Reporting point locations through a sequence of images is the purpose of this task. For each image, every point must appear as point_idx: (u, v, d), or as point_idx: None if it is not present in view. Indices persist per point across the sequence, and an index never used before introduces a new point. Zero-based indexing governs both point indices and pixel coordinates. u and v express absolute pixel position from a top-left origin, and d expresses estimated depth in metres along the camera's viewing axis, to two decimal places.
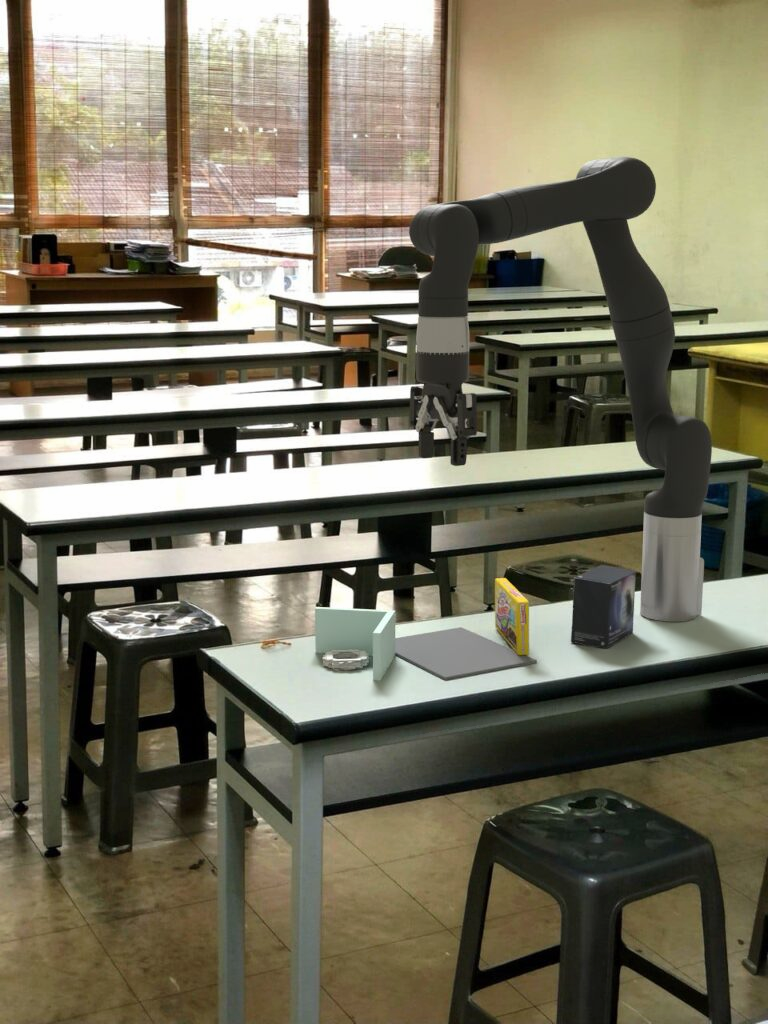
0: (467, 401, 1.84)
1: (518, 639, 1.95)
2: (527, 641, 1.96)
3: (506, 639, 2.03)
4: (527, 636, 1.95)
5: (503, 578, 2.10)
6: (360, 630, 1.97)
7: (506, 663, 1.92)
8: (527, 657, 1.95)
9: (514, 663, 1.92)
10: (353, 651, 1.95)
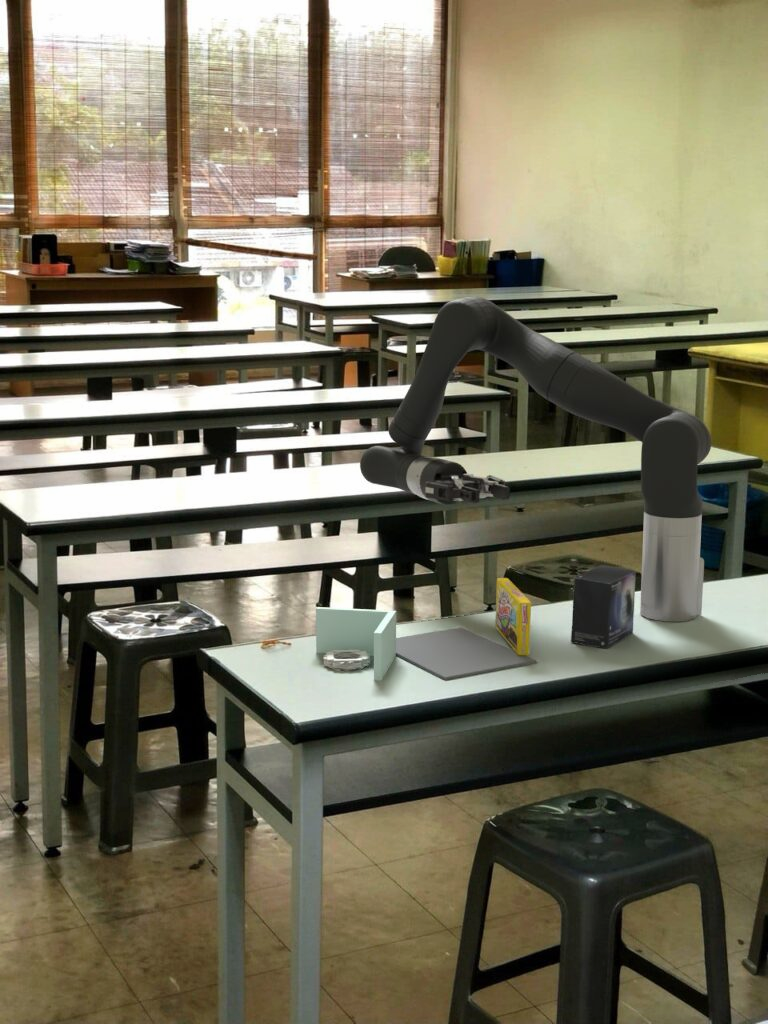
0: (428, 491, 2.21)
1: (519, 639, 1.95)
2: (528, 642, 1.96)
3: (506, 639, 2.03)
4: (528, 637, 1.95)
5: (505, 578, 2.10)
6: (361, 630, 1.97)
7: (506, 663, 1.92)
8: (527, 657, 1.95)
9: (514, 663, 1.92)
10: (354, 651, 1.95)
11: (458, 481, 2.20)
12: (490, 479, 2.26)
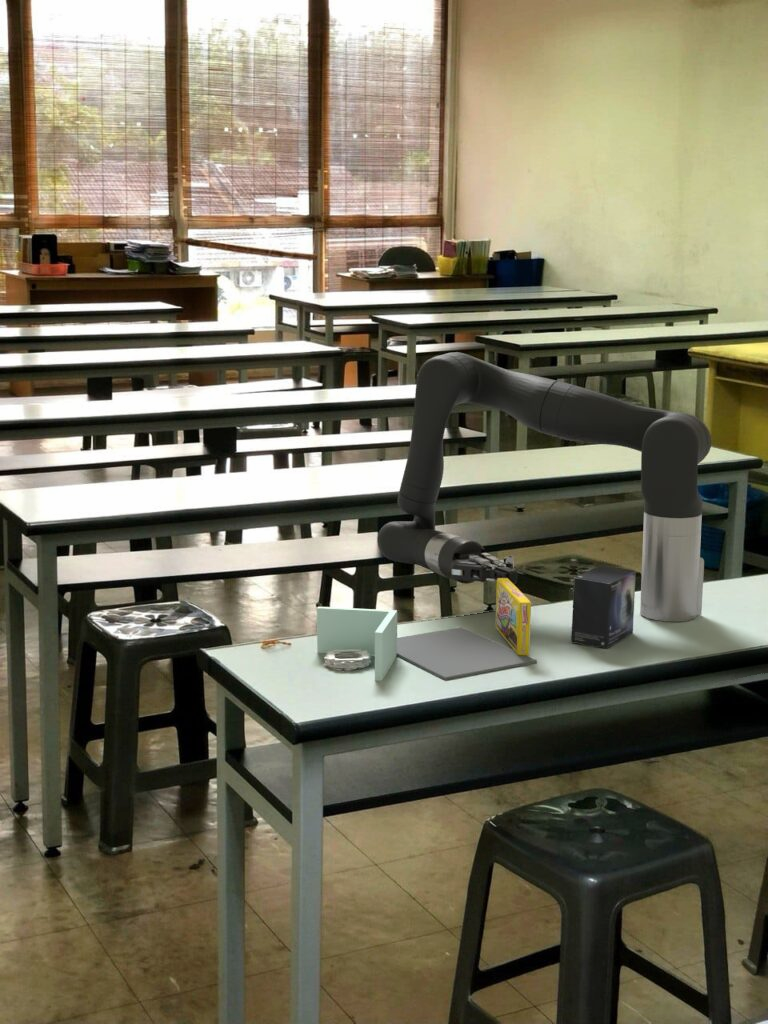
0: (456, 573, 2.20)
1: (519, 639, 1.95)
2: (528, 642, 1.96)
3: (506, 639, 2.03)
4: (528, 637, 1.95)
5: (505, 578, 2.10)
6: (362, 630, 1.97)
7: (506, 663, 1.92)
8: (527, 657, 1.95)
9: (514, 663, 1.92)
10: (355, 651, 1.95)
11: (486, 561, 2.20)
12: (506, 560, 2.24)
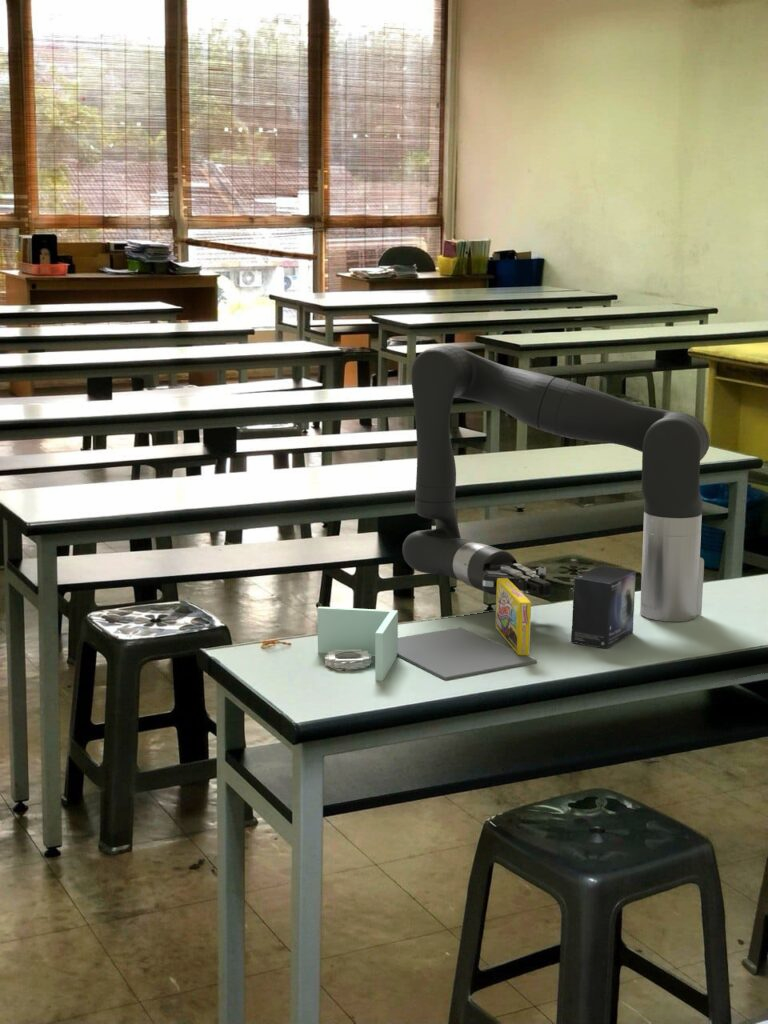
0: (488, 585, 2.12)
1: (519, 639, 1.95)
2: (528, 642, 1.96)
3: (506, 639, 2.03)
4: (528, 637, 1.95)
5: (505, 578, 2.10)
6: (363, 630, 1.97)
7: (506, 663, 1.92)
8: (527, 657, 1.95)
9: (514, 663, 1.92)
10: (355, 651, 1.95)
11: (518, 572, 2.12)
12: (538, 571, 2.16)
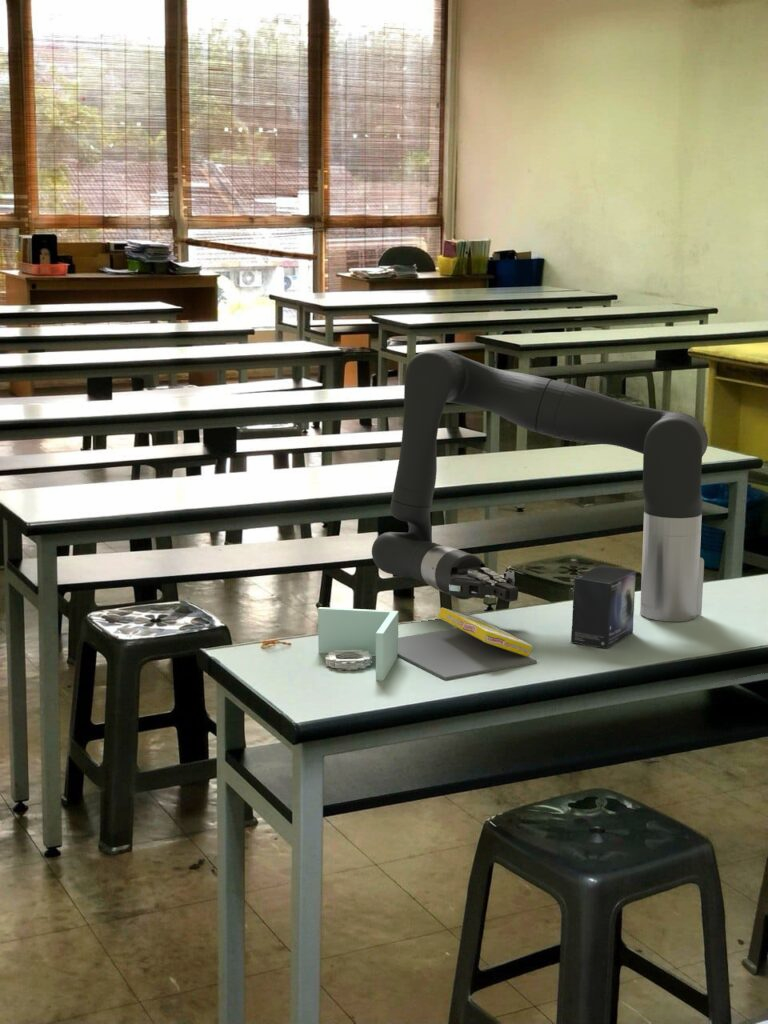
0: (454, 590, 2.09)
1: (515, 651, 1.94)
2: (520, 643, 1.94)
3: None
4: (516, 642, 1.94)
5: (441, 610, 2.06)
6: (363, 630, 1.97)
7: (506, 663, 1.92)
8: (527, 657, 1.95)
9: (514, 663, 1.92)
10: (356, 651, 1.95)
11: (485, 577, 2.09)
12: (506, 575, 2.13)
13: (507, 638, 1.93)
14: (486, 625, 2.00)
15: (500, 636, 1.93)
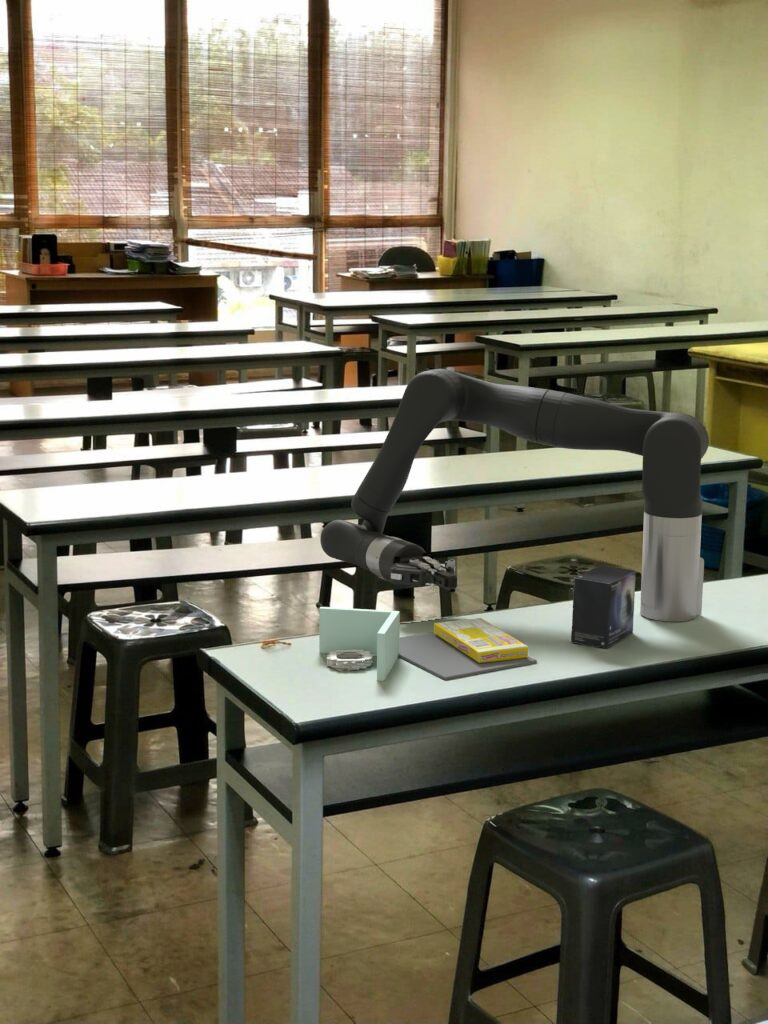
0: (396, 578, 2.15)
1: (513, 658, 1.94)
2: (515, 649, 1.94)
3: None
4: (511, 650, 1.94)
5: (434, 626, 2.06)
6: (364, 630, 1.97)
7: (506, 663, 1.92)
8: (527, 657, 1.95)
9: (514, 663, 1.92)
10: (357, 651, 1.95)
11: (426, 565, 2.16)
12: (447, 564, 2.20)
13: (501, 650, 1.93)
14: (480, 634, 2.00)
15: (493, 651, 1.93)
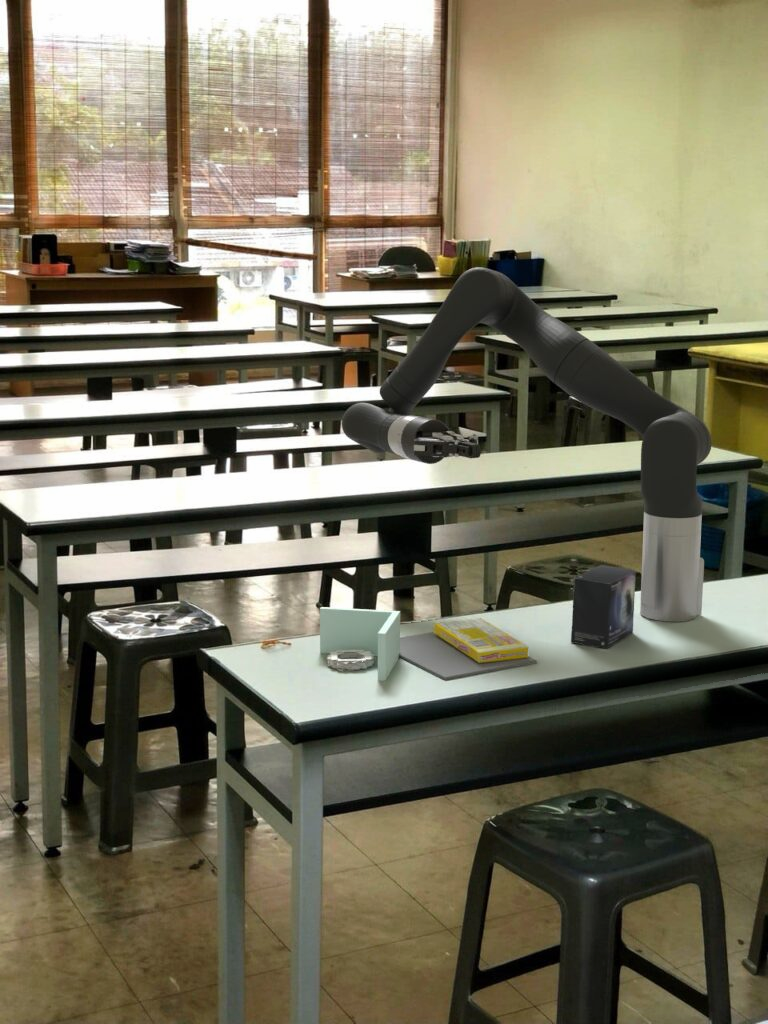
0: (419, 449, 2.14)
1: (513, 658, 1.94)
2: (515, 649, 1.94)
3: None
4: (511, 650, 1.94)
5: (434, 626, 2.06)
6: (365, 630, 1.97)
7: (506, 663, 1.92)
8: (527, 657, 1.95)
9: (514, 663, 1.92)
10: (358, 651, 1.95)
11: (449, 437, 2.15)
12: (470, 438, 2.19)
13: (501, 650, 1.93)
14: (480, 634, 2.00)
15: (493, 651, 1.93)
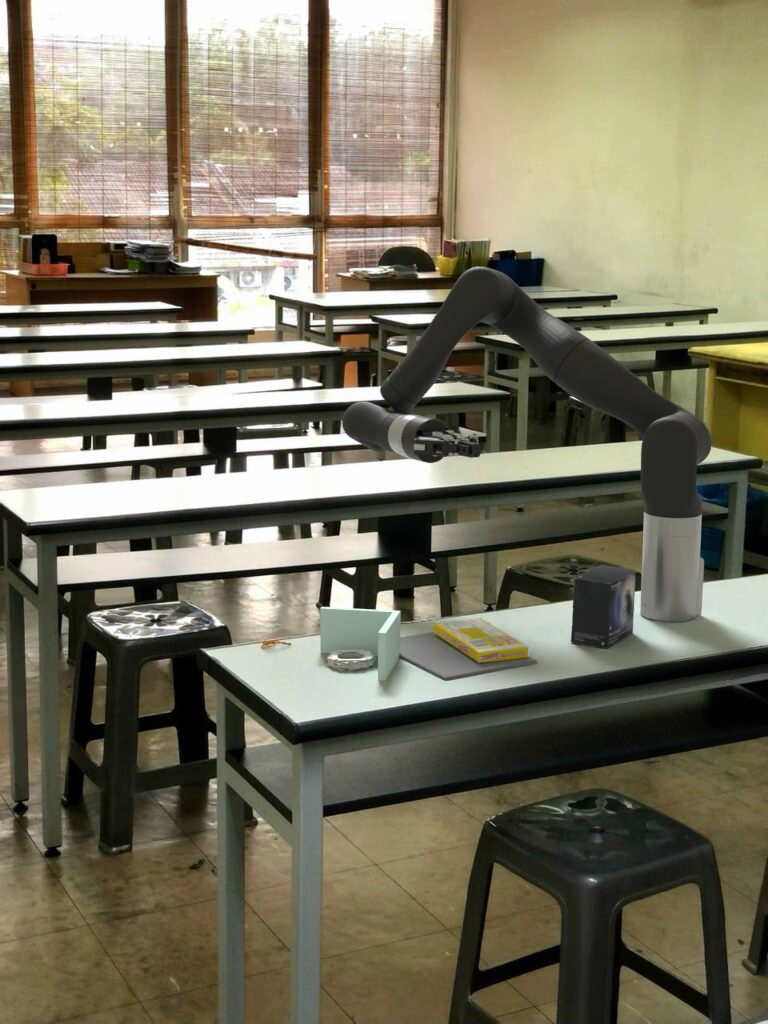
0: (419, 448, 2.14)
1: (513, 658, 1.94)
2: (515, 649, 1.94)
3: None
4: (511, 650, 1.94)
5: (434, 626, 2.06)
6: (365, 630, 1.97)
7: (506, 663, 1.92)
8: (527, 657, 1.95)
9: (514, 663, 1.92)
10: (358, 651, 1.95)
11: (449, 436, 2.15)
12: (470, 437, 2.19)
13: (501, 650, 1.93)
14: (480, 634, 2.00)
15: (493, 651, 1.93)
